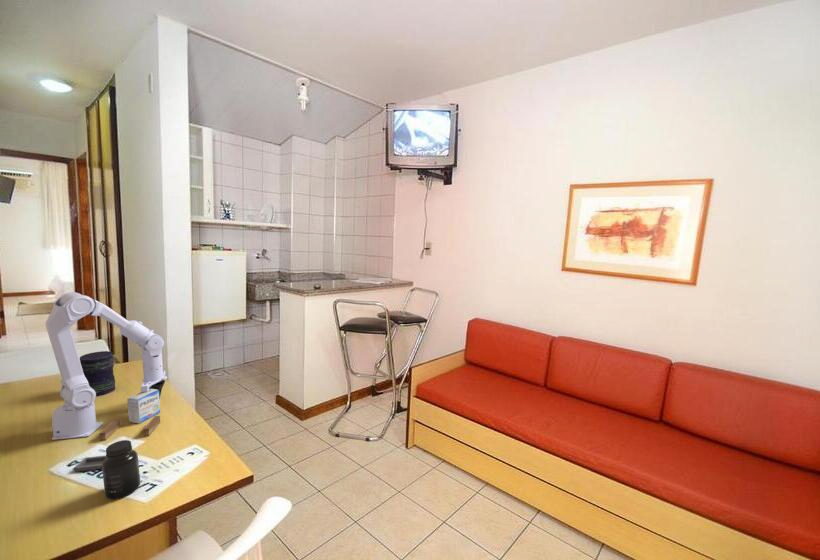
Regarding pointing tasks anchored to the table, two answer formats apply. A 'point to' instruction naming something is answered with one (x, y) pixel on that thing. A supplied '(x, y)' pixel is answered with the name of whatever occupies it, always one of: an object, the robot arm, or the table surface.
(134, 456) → the supplement bottle
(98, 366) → the storage jar
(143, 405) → the medicine box
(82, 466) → the dark grey flat tray
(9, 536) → the table surface
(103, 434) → the lane wall left
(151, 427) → the lane wall right
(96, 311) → the robot arm
